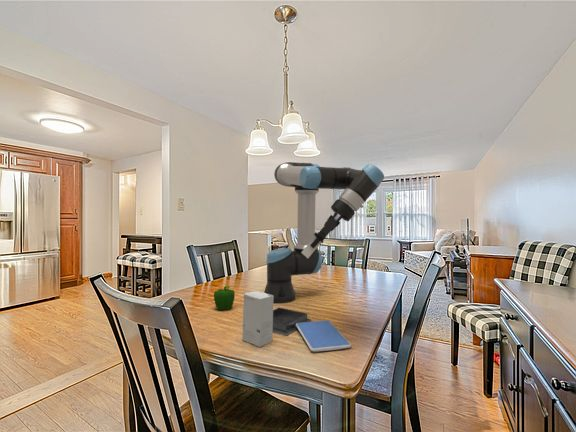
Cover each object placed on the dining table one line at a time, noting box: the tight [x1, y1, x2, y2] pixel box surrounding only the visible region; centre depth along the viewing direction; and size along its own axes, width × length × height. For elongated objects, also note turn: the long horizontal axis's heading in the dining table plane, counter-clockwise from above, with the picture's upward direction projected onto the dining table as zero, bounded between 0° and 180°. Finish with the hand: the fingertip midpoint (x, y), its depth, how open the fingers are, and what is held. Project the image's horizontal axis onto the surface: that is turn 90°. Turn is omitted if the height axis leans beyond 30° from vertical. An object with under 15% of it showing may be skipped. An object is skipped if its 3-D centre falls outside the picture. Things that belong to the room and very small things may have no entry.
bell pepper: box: [213, 285, 236, 311], centre depth 125 cm, size 8×8×10 cm
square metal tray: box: [272, 307, 312, 337], centre depth 107 cm, size 15×16×3 cm
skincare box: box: [241, 290, 274, 348], centre depth 92 cm, size 8×6×15 cm
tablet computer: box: [296, 320, 352, 352], centre depth 94 cm, size 19×13×1 cm, turn 13°
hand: (304, 255), depth 96 cm, fingers open, 13 cm apart
